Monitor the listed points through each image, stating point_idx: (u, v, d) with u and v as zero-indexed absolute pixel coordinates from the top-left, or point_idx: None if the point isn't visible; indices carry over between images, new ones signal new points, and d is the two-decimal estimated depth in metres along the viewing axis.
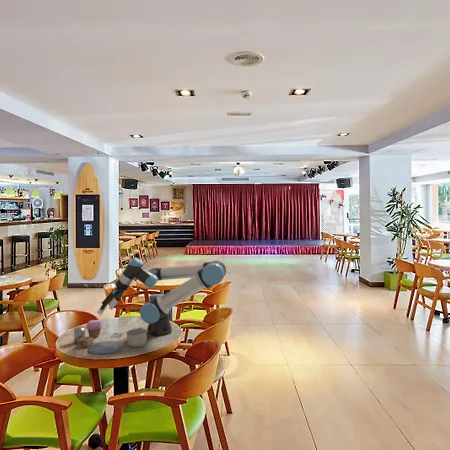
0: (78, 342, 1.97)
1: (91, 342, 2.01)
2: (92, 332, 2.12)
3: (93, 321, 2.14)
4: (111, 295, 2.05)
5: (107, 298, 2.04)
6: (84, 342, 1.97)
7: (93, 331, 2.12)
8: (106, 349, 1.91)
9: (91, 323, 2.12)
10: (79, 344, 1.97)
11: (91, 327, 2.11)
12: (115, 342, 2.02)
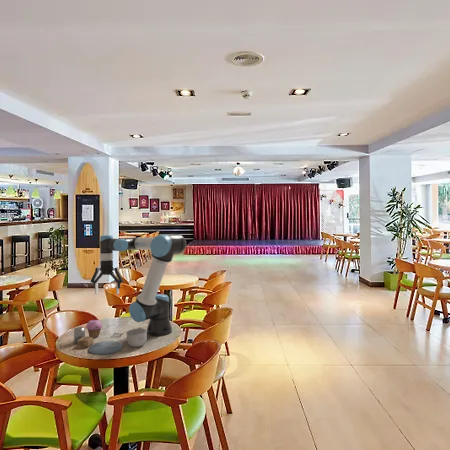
0: (78, 342, 1.97)
1: (91, 342, 2.01)
2: (92, 332, 2.12)
3: (93, 321, 2.14)
4: None
5: None
6: (84, 342, 1.97)
7: (93, 331, 2.12)
8: (106, 349, 1.91)
9: (91, 323, 2.12)
10: (79, 344, 1.97)
11: (91, 327, 2.11)
12: (115, 342, 2.02)
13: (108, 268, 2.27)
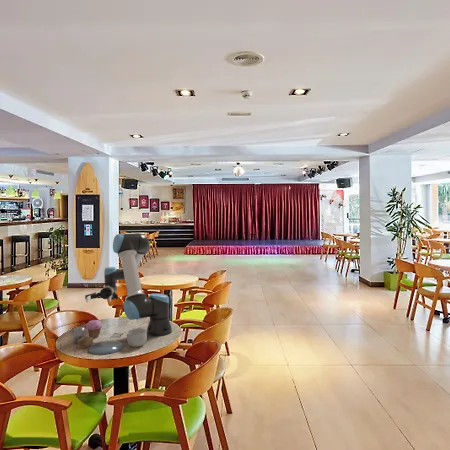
0: (78, 342, 1.97)
1: (91, 342, 2.01)
2: (92, 332, 2.12)
3: (93, 321, 2.14)
4: None
5: None
6: (84, 342, 1.97)
7: (93, 331, 2.12)
8: (106, 349, 1.91)
9: (91, 323, 2.12)
10: (80, 345, 1.97)
11: (91, 327, 2.11)
12: (115, 342, 2.02)
13: None
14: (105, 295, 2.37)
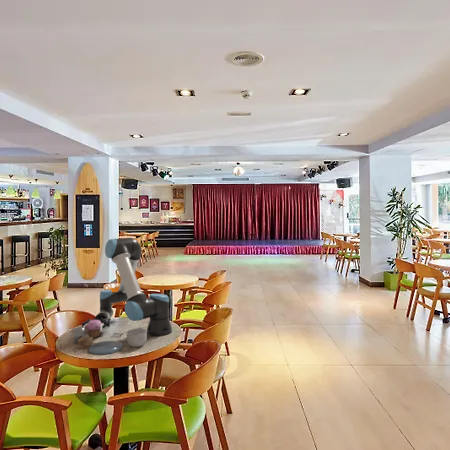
0: (79, 342, 1.97)
1: (91, 342, 2.01)
2: (92, 332, 2.12)
3: (93, 321, 2.14)
4: None
5: None
6: (85, 342, 1.97)
7: (93, 331, 2.12)
8: (106, 349, 1.91)
9: (91, 323, 2.12)
10: (80, 345, 1.97)
11: (91, 327, 2.11)
12: (115, 342, 2.02)
13: (102, 318, 2.28)
14: None
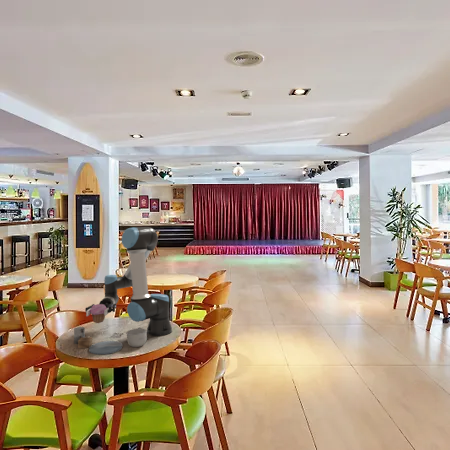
0: (79, 342, 1.97)
1: (91, 342, 2.02)
2: (96, 317, 1.99)
3: (97, 305, 2.00)
4: None
5: None
6: (85, 342, 1.97)
7: (97, 316, 1.99)
8: (106, 349, 1.91)
9: (95, 307, 1.99)
10: (80, 345, 1.97)
11: (95, 311, 1.98)
12: (115, 342, 2.02)
13: (107, 303, 2.15)
14: None
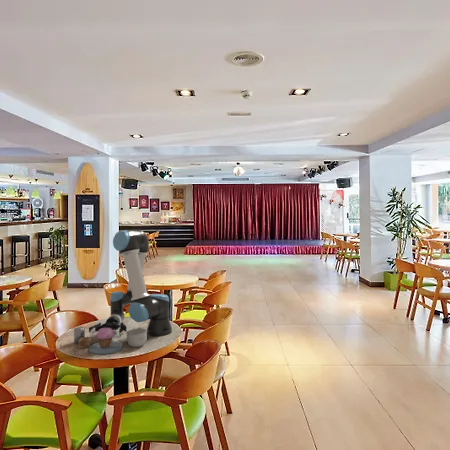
0: (79, 342, 1.97)
1: (91, 342, 2.02)
2: (103, 341, 1.93)
3: (104, 329, 1.94)
4: None
5: None
6: (86, 342, 1.97)
7: (104, 340, 1.93)
8: (106, 349, 1.91)
9: (102, 331, 1.93)
10: (81, 345, 1.97)
11: (102, 336, 1.91)
12: (115, 342, 2.02)
13: None
14: (112, 326, 2.05)
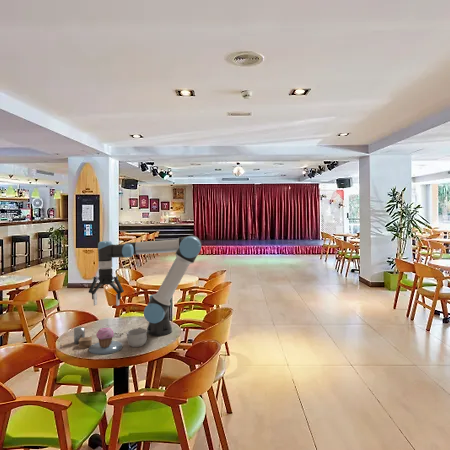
0: (79, 342, 1.97)
1: (91, 341, 2.02)
2: (103, 341, 1.93)
3: (104, 329, 1.94)
4: (118, 281, 2.08)
5: (120, 286, 2.08)
6: (86, 342, 1.98)
7: (104, 340, 1.93)
8: (106, 349, 1.91)
9: (102, 331, 1.93)
10: (81, 345, 1.97)
11: (102, 336, 1.91)
12: (115, 342, 2.02)
13: None
14: None
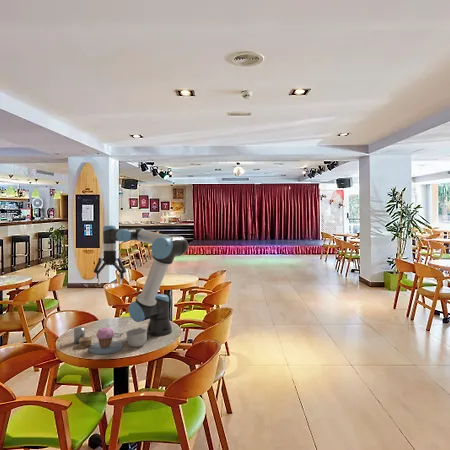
0: (80, 343, 1.97)
1: (91, 341, 2.02)
2: (103, 341, 1.93)
3: (104, 329, 1.94)
4: (121, 262, 2.27)
5: (122, 266, 2.27)
6: (86, 342, 1.98)
7: (104, 340, 1.93)
8: (106, 349, 1.91)
9: (102, 331, 1.93)
10: (81, 345, 1.97)
11: (102, 336, 1.91)
12: (115, 342, 2.02)
13: None
14: None
